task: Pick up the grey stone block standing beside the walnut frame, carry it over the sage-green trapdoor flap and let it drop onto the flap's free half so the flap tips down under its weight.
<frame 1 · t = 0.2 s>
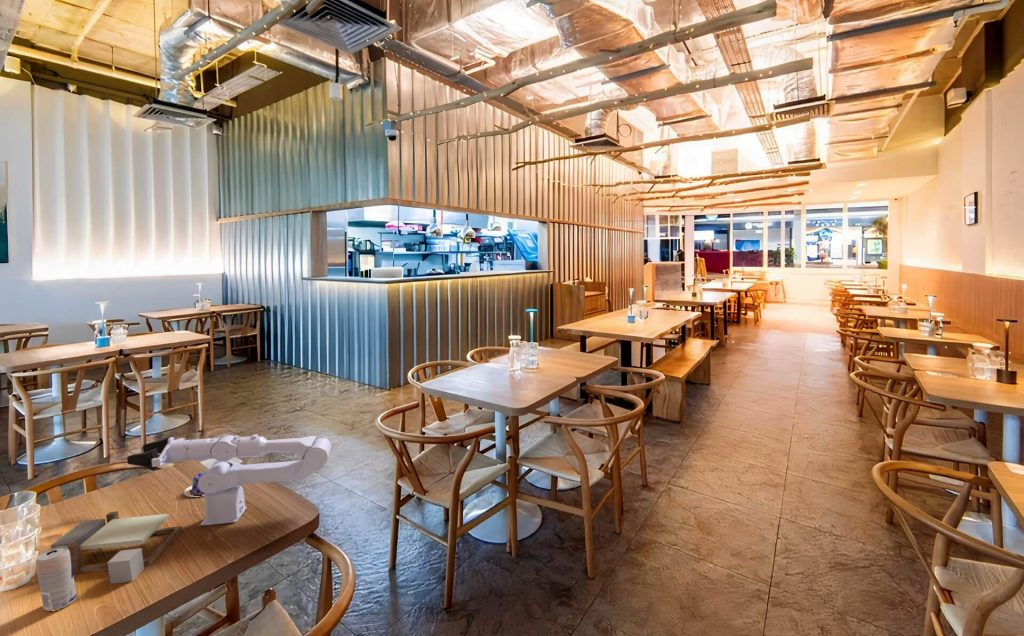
hand: (136, 454, 131), 22 cm above the table, tool horizontal, fingers open, 7 cm apart
stone: (127, 576, 113), on the table
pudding: (206, 490, 155), on the table
frame: (97, 554, 122), on the table
flap: (113, 532, 122), point 6 cm above the table, hinge at 0.0°
energy drink: (60, 604, 104), on the table
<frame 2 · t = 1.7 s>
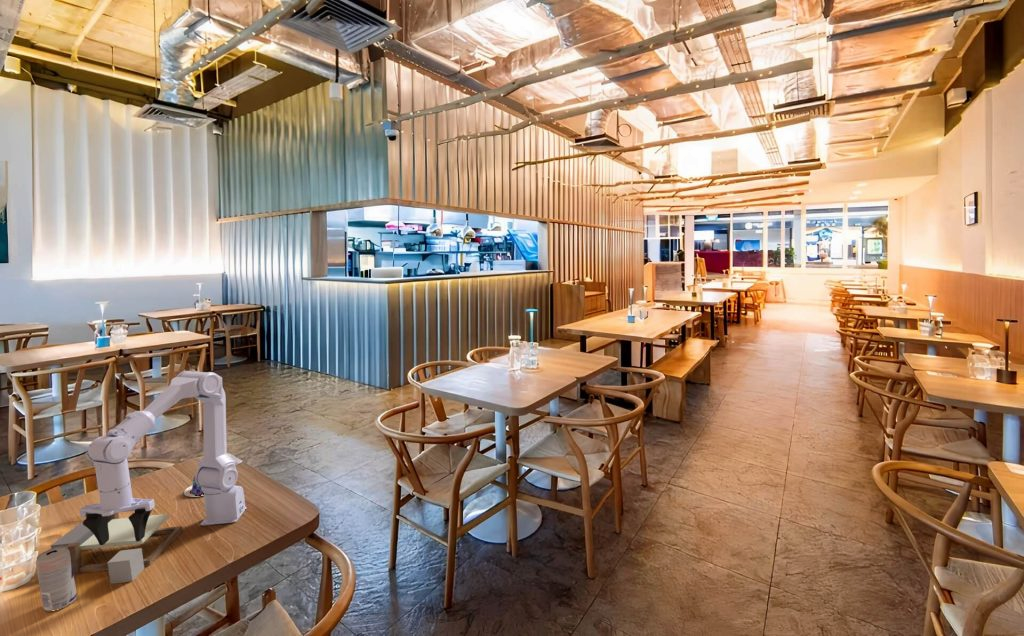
hand: (122, 540, 112), 9 cm above the table, tool pointing down, fingers open, 7 cm apart
nothing on the table moved.
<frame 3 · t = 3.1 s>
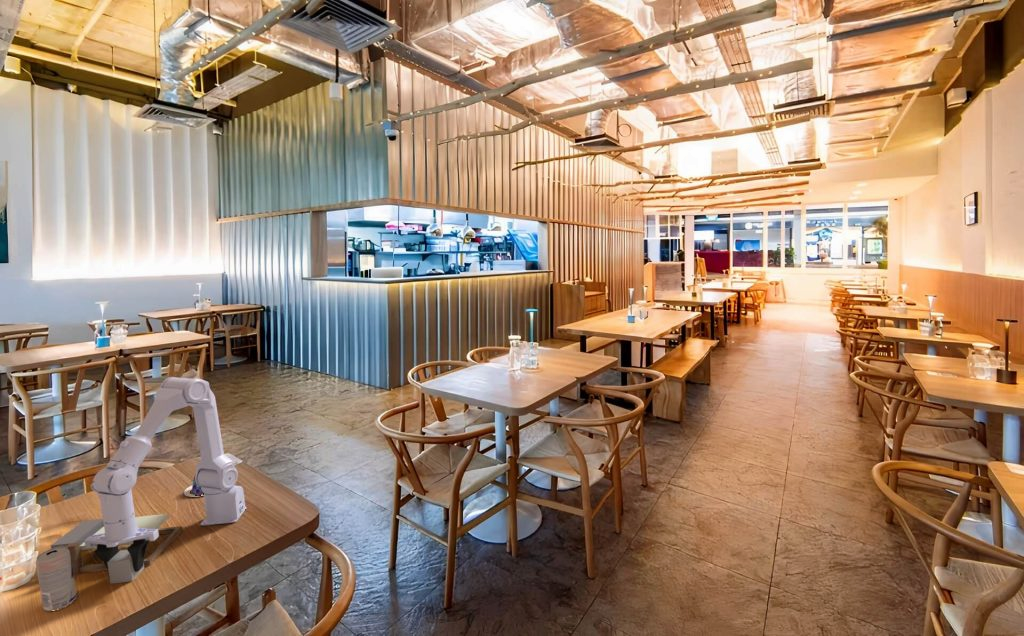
hand: (127, 570, 113), 1 cm above the table, tool pointing down, fingers closed on stone, 5 cm apart
stone: (127, 575, 113), on the table, touching gripper
everything else where it was.
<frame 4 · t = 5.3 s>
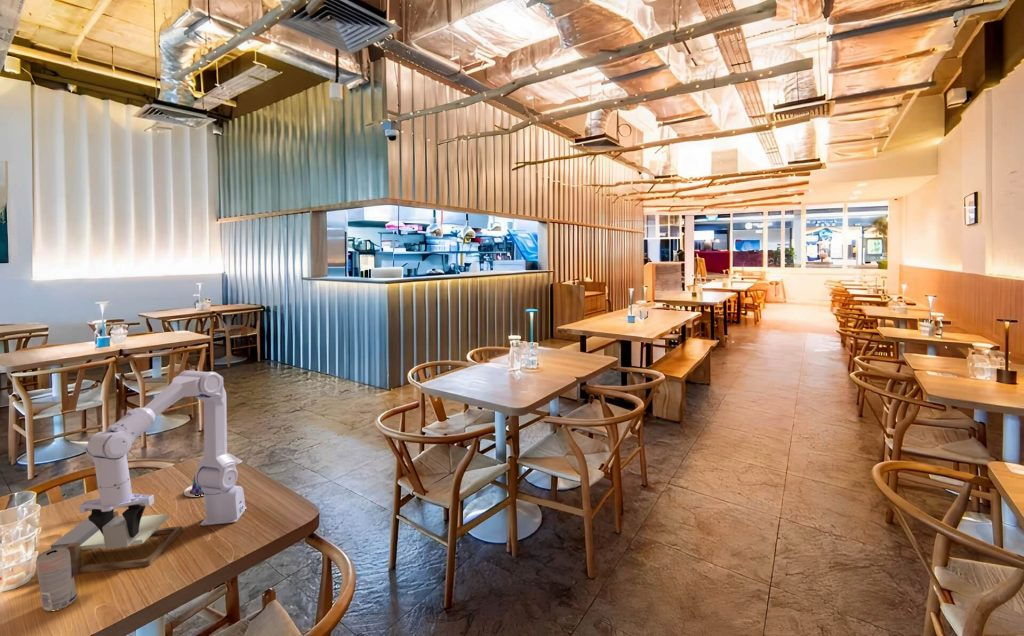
hand: (122, 536, 112), 10 cm above the table, tool pointing down, fingers closed on stone, 5 cm apart
stone: (123, 542, 112), point 9 cm above the table, touching gripper
everything else where it was.
when the fingers open (10 cm above the table, at t = 8.0 s): stone drops 6 cm, resting on flap.
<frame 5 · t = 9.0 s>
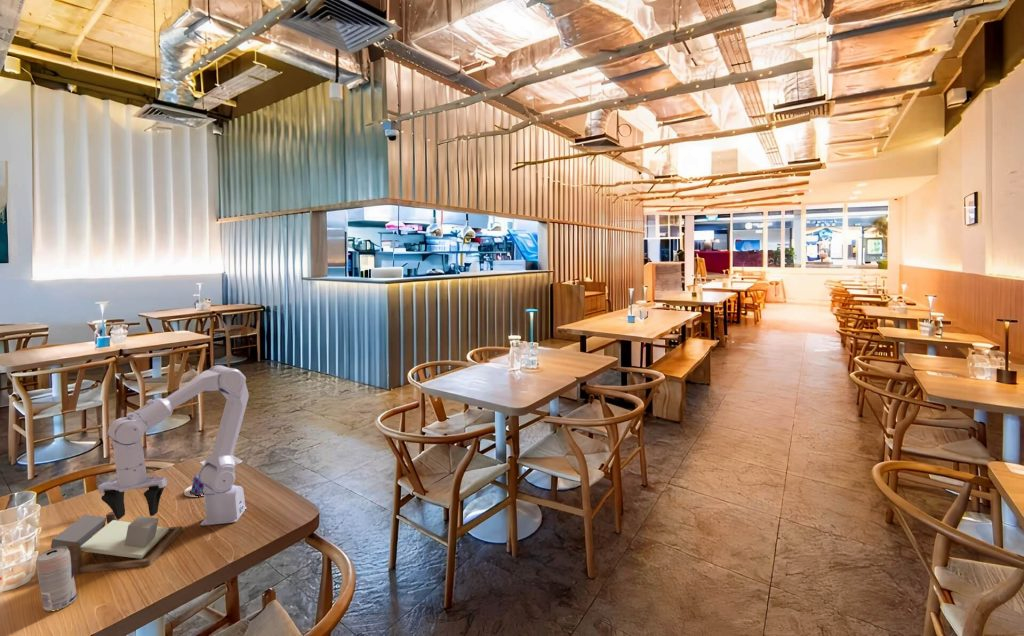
hand: (137, 515, 121), 10 cm above the table, tool pointing down, fingers open, 7 cm apart
stone: (139, 541, 122), point 3 cm above the table, tilted 16°, touching flap
flap: (112, 536, 122), point 4 cm above the table, hinge at -16.5°, touching stone
everything else where it was.
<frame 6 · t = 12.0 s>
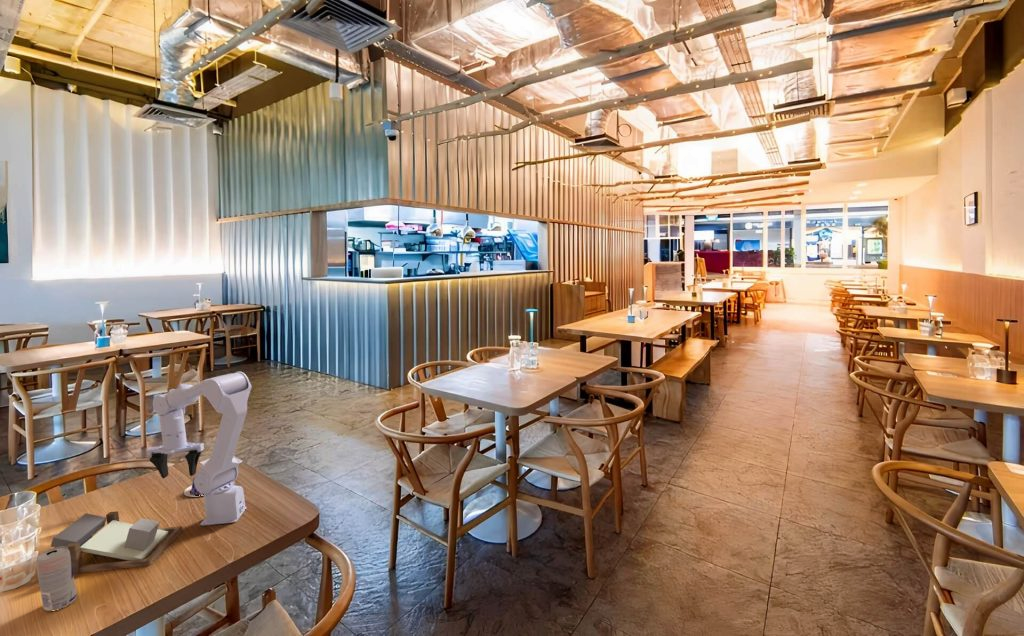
hand: (179, 475, 142), 10 cm above the table, tool pointing down, fingers open, 7 cm apart
flap: (112, 537, 122), point 4 cm above the table, hinge at -20.5°, touching stone
at the end: stone point 2.1 cm above the table; stone moved 10.6 cm from its start; the gripper is holding nothing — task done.
